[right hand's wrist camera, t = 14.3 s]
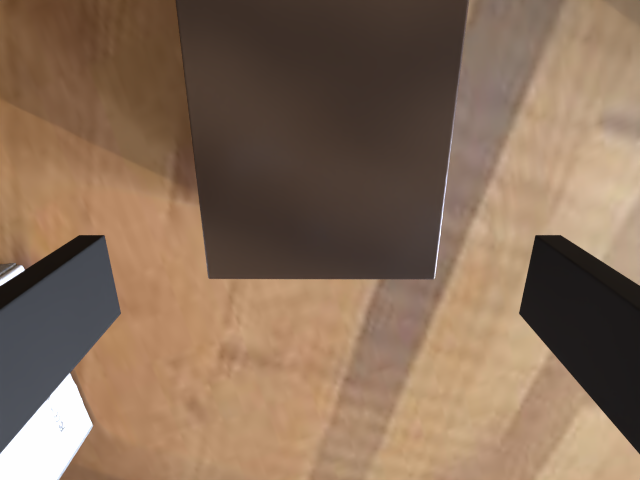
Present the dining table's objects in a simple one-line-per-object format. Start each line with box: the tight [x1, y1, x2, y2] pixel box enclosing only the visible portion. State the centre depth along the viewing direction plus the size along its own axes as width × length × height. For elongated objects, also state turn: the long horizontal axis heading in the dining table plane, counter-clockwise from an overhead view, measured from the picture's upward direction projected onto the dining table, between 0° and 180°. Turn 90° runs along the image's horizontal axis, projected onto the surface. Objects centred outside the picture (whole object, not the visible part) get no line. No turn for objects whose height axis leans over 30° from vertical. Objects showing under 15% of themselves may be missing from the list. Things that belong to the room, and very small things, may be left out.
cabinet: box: [176, 0, 469, 279], centre depth 19 cm, size 20×10×9 cm, turn 0°
